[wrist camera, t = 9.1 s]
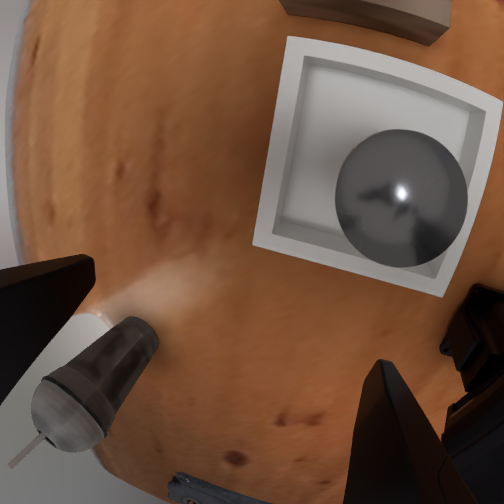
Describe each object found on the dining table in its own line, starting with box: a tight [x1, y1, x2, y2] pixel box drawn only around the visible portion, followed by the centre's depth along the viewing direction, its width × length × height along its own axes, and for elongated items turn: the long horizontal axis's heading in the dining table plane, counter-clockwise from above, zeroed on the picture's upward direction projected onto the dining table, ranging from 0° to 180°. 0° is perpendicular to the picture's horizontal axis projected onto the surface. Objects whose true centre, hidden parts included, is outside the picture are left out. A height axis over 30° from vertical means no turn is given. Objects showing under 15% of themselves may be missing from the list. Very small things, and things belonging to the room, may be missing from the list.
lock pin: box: [335, 129, 468, 268], centre depth 13 cm, size 4×4×9 cm
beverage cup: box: [8, 317, 158, 469], centre depth 21 cm, size 7×7×20 cm
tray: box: [252, 36, 503, 297], centre depth 16 cm, size 12×12×4 cm
